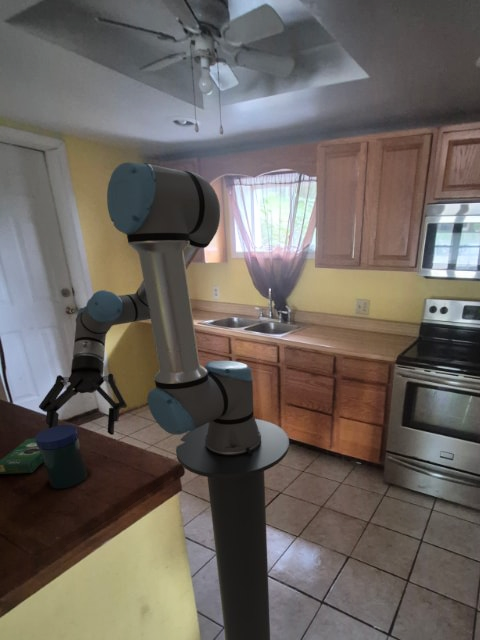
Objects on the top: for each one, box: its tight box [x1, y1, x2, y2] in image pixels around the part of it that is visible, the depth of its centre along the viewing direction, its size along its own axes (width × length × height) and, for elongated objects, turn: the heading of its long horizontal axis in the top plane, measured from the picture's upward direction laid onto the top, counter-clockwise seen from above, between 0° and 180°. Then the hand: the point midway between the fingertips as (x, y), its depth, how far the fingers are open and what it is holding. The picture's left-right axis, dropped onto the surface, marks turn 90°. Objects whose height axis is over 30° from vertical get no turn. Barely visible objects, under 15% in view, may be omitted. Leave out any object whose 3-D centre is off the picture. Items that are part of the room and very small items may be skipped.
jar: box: [39, 438, 88, 489], centre depth 84 cm, size 8×8×12 cm
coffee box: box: [0, 437, 43, 475], centre depth 93 cm, size 8×3×13 cm
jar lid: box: [34, 424, 79, 450], centre depth 82 cm, size 8×8×2 cm
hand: (81, 435), depth 94 cm, fingers open, 13 cm apart
